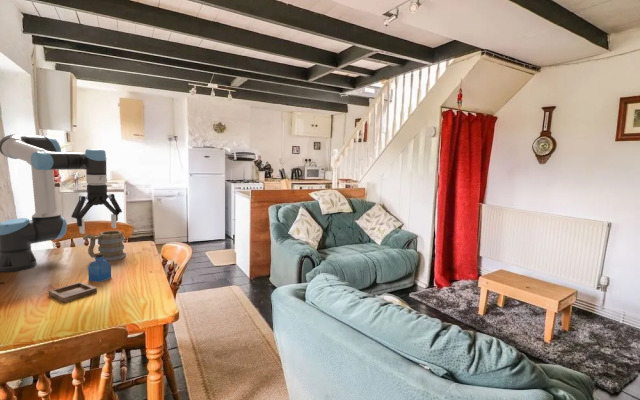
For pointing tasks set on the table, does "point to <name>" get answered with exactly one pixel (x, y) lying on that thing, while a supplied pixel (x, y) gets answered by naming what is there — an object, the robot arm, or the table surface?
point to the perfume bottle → (99, 269)
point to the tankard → (108, 245)
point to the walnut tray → (72, 292)
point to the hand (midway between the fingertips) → (98, 230)
